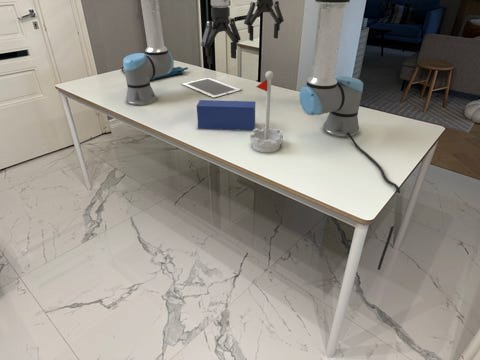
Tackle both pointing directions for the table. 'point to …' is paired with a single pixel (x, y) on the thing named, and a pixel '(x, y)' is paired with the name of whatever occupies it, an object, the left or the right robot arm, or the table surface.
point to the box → (226, 115)
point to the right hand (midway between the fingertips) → (263, 39)
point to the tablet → (211, 87)
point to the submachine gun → (173, 72)
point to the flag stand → (266, 124)
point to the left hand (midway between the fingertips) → (222, 60)
